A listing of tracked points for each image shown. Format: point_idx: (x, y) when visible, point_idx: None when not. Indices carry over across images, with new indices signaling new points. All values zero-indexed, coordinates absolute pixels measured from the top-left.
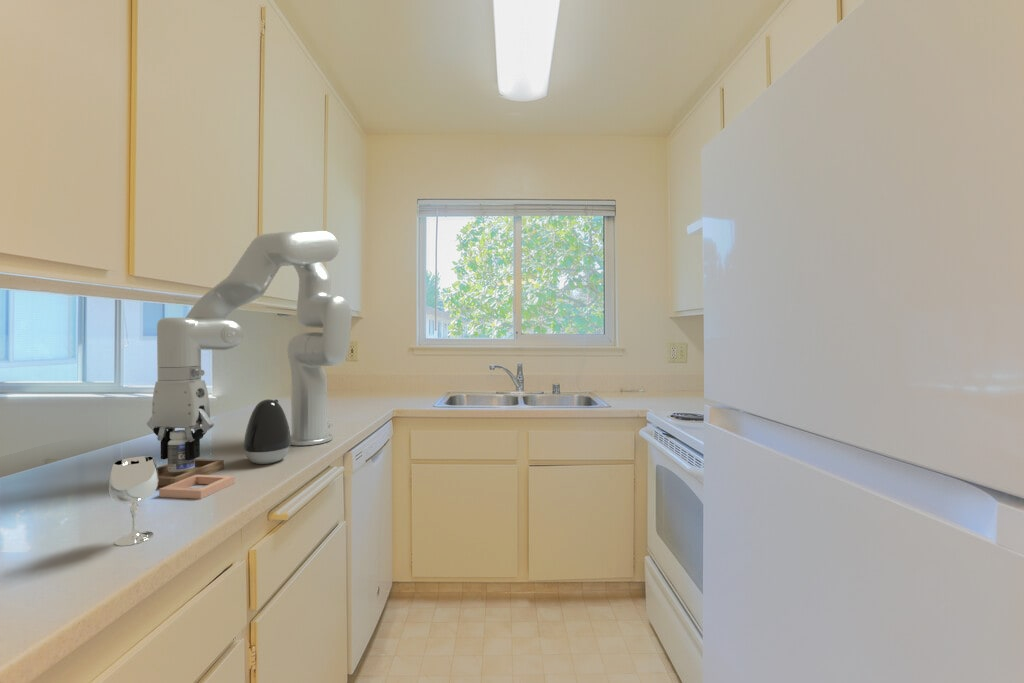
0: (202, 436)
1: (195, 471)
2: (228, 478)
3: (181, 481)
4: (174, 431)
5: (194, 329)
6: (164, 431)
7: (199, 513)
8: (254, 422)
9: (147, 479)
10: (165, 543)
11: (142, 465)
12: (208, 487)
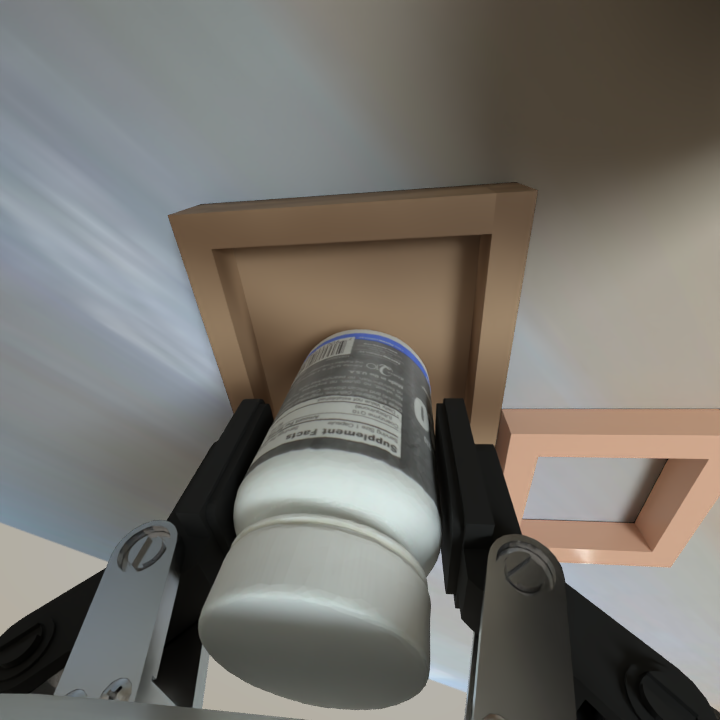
0: (559, 571)
1: (497, 427)
2: None
3: (513, 505)
4: (253, 668)
5: None
6: (199, 699)
7: (706, 601)
8: None
9: None
10: (700, 675)
11: None
12: (684, 544)
